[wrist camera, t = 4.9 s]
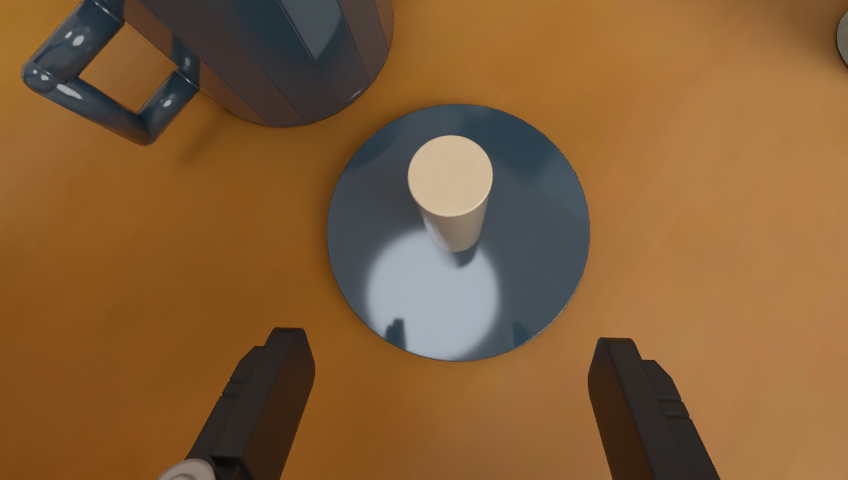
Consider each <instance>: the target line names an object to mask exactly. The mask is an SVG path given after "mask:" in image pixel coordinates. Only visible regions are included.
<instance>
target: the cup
mask: <svg viewBox="0 0 848 480" xmlns="http://www.w3.org/2000/svg"><path fill="white" fill-rule="evenodd" d="M837 45H838V48H839V51H840V53H841V55H842V57H843V59H844V61H845V62H846V64H847V65H848V11H847V12H846V14H845V15H844V16H843V18H842V19H841V21H840V23H839V25H838V30H837Z"/></svg>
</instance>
